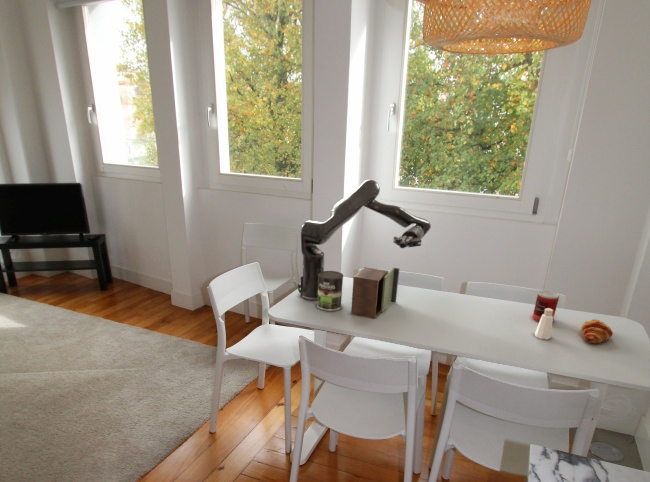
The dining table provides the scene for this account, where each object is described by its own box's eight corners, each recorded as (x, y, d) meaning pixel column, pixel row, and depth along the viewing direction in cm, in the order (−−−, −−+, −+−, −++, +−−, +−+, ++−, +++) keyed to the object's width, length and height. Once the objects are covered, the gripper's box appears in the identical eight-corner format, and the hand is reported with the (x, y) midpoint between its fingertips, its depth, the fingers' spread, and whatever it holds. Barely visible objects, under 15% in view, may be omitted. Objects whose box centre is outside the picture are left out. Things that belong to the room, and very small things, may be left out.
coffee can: (336, 312, 191) (338, 280, 185) (313, 308, 194) (314, 276, 189) (344, 304, 200) (346, 272, 194) (322, 300, 203) (323, 269, 197)
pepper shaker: (549, 341, 171) (556, 313, 167) (533, 337, 174) (540, 310, 169) (551, 335, 175) (558, 308, 171) (535, 332, 178) (542, 305, 173)
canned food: (552, 317, 191) (559, 292, 187) (553, 324, 185) (559, 298, 180) (532, 314, 194) (538, 289, 190) (531, 321, 188) (538, 295, 183)
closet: (384, 306, 198) (388, 270, 191) (374, 318, 186) (378, 280, 180) (362, 302, 202) (364, 267, 195) (351, 314, 190) (353, 276, 183)
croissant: (589, 333, 186) (583, 314, 185) (618, 329, 179) (612, 309, 178) (578, 351, 170) (572, 330, 170) (609, 347, 164) (603, 325, 163)
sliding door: (396, 301, 202) (399, 268, 196) (386, 313, 190) (390, 278, 184) (390, 300, 203) (393, 267, 197) (380, 312, 191) (383, 277, 185)
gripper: (425, 246, 211) (416, 256, 197) (396, 243, 216) (386, 252, 202) (427, 230, 208) (418, 239, 194) (398, 227, 213) (387, 235, 199)
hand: (402, 245), depth 198 cm, fingers closed
